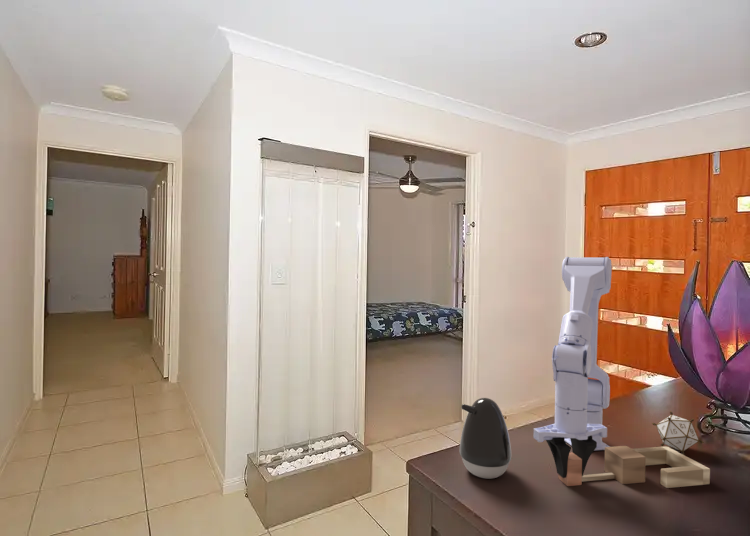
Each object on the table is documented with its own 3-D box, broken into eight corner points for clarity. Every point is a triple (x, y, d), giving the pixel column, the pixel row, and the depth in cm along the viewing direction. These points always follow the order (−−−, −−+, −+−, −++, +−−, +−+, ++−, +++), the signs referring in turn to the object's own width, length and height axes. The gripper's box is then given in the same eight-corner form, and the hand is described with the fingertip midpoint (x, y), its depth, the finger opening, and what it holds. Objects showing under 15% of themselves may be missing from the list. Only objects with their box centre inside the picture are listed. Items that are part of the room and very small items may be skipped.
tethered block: (555, 475, 86) (555, 451, 85) (626, 469, 88) (626, 445, 88) (570, 488, 81) (571, 462, 81) (645, 482, 83) (645, 456, 83)
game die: (668, 461, 100) (656, 418, 105) (711, 459, 95) (696, 413, 100) (656, 452, 95) (644, 407, 100) (701, 449, 90) (686, 402, 95)
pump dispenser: (450, 463, 90) (450, 392, 90) (493, 457, 93) (494, 388, 93) (473, 488, 81) (474, 409, 80) (521, 481, 83) (522, 404, 83)
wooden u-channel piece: (627, 463, 91) (627, 449, 91) (666, 459, 93) (666, 446, 93) (666, 488, 81) (667, 472, 81) (709, 484, 83) (709, 468, 83)
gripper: (548, 415, 78) (547, 488, 78) (619, 410, 80) (617, 482, 81) (528, 402, 85) (527, 469, 85) (593, 398, 87) (592, 464, 88)
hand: (569, 474), depth 83 cm, fingers closed on tethered block, 3 cm apart
